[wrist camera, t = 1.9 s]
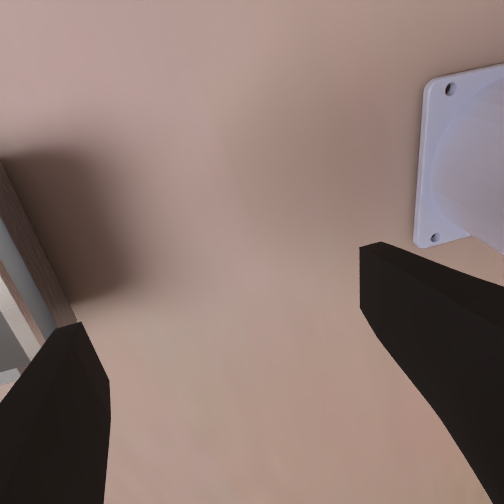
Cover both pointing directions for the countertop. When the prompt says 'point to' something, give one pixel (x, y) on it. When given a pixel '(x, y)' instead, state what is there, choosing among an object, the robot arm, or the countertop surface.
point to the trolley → (25, 286)
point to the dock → (11, 375)
